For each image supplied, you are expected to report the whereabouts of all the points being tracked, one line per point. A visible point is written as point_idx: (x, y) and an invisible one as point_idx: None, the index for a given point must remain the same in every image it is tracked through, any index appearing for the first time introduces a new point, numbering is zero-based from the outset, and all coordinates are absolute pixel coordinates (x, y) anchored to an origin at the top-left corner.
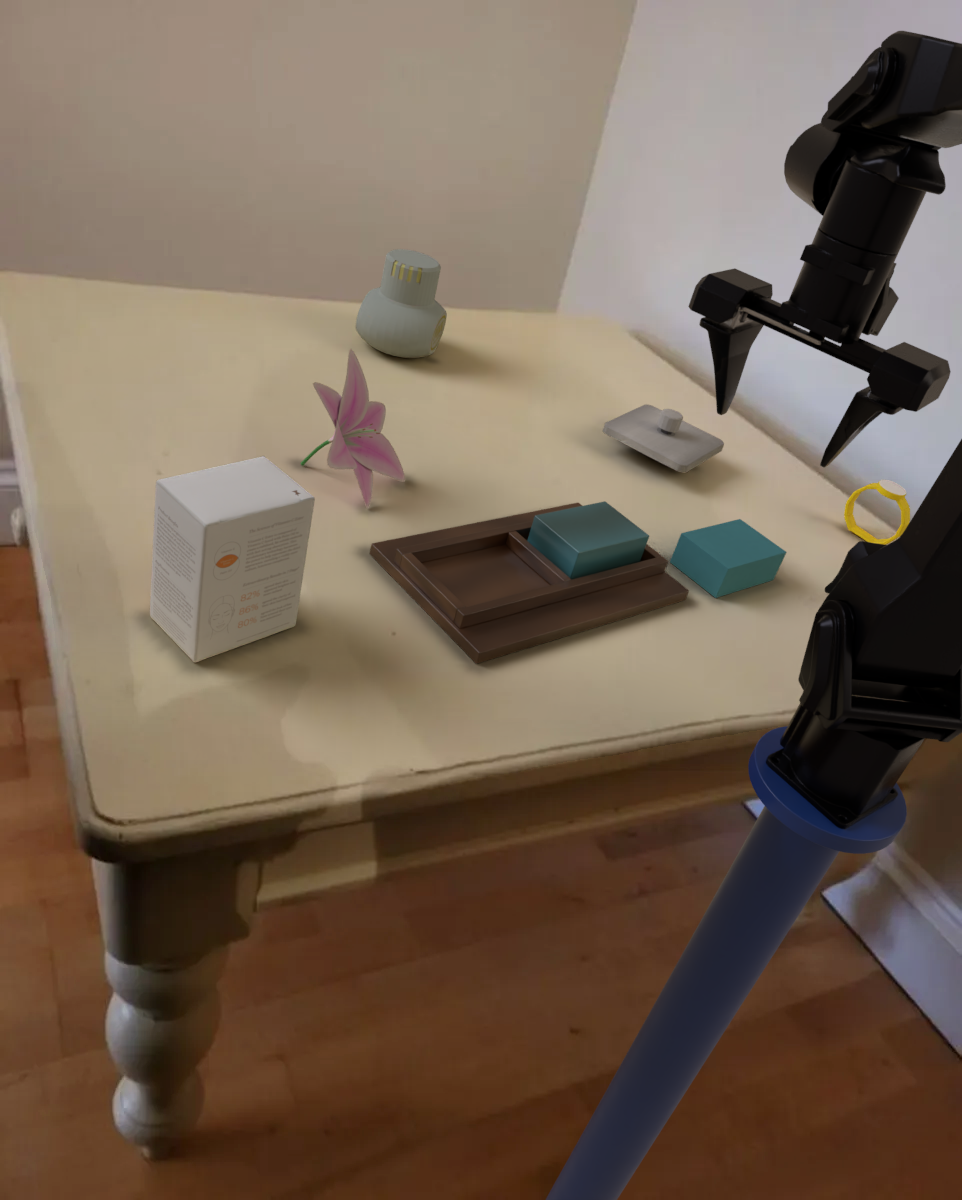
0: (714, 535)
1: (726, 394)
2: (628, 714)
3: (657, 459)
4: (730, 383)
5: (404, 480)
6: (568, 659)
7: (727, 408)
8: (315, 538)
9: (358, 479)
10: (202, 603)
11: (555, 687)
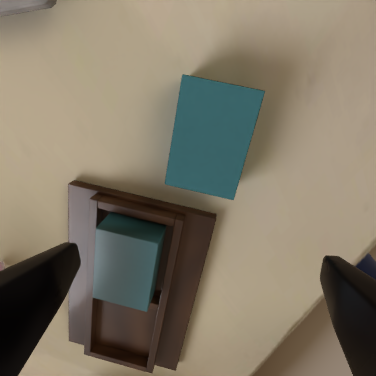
0: (187, 151)
1: (52, 309)
2: (258, 343)
3: (20, 12)
4: (29, 328)
5: (2, 262)
6: (204, 329)
7: (71, 254)
8: (51, 341)
9: None
10: None
11: (215, 351)
